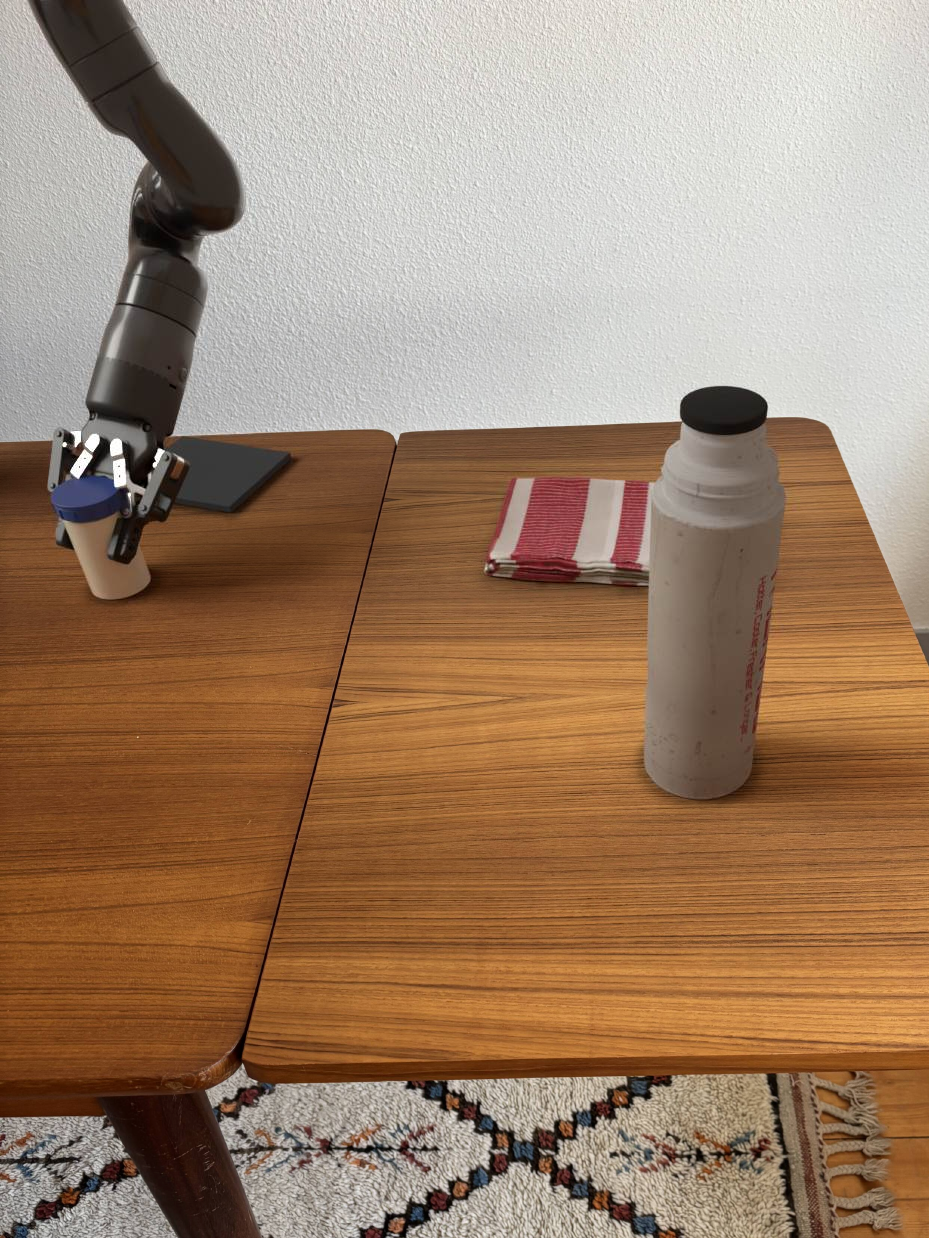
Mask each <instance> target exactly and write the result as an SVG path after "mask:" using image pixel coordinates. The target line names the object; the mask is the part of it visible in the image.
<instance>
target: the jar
mask: <svg viewBox="0 0 929 1238" xmlns="http://www.w3.org/2000/svg"><path fill="white" fill-rule="evenodd" d="M117 518H121V519H122V518H123V517H122V516H121V514H120V509H119V510H118V511H116V512H115V513H113V514H111V515H109V516H107V517H105V518H102V519H98V520H94V521H89V522H69V521H65V520H63V523H64V525H65V528H66V530H67V533H68V535H69V538H70V540H71V543H72V545H73V547H74V550H75V551H74V550H73V551H74V552H75V554H76V557H77V559H78V562H79V564H80V567H81V570H82V572H83V574H84V577H85V579H86V582H87V584H88V587H89V590H90V591H91V593H92V595H94V596H95V597H97V598H98V599H102V600H110V601H111V600H121V599H126V598H129V597H131V596H134V595H136V594H138V593H140V592H141V591H143V590H144V589H146V588H147V586H148V585H149V584H150V583H151V580H152V579H151V578H152V576H151V572H150V570H149V567H148V564H147V562H146V559H145V556H144V553H143V550H142V547H141V545H140V543H139V545H138V548H137V553H136V555H135V557H134V558H133V559H132V560H131V562H130V564H128V565H126V564H122V563H119V562H116V561H113V560H110V559H109V558H108V556H107V553H108V549H109V546H110V542H111V538H112V535H113V531H114V527H115V524H116V520H117Z"/></svg>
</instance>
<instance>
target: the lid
mask: <svg viewBox="0 0 929 1238" xmlns="http://www.w3.org/2000/svg"><path fill="white" fill-rule="evenodd" d="M50 493H51V494H50V500H51V506H52V508H53V510H54V513H55V514H56V515H57V516H58V518H59V517H60V518H61V519H62V520H65V521H69V522H89V521H94V520H98V519H102V518H105V517H107V516H109V515H111V514H113V513H115V512H116V511H118V510H119V509H120V508H121V501H122V498H121V496H122V495H121V492H120V489H119V488H115V481H114V480H111V479H109V478H108V477H106V476H94V475H91V473H90V474H88V475H86V476H84V477H81V478H79V479H77V478H72V479H70V480H68V481H65V480H64V482H63V483H62V484H60V485H59V486H57V487H56V488H55V489H54V490H53V492H50Z"/></svg>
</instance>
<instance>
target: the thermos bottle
mask: <svg viewBox="0 0 929 1238" xmlns="http://www.w3.org/2000/svg"><path fill="white" fill-rule="evenodd" d="M768 410H769V405H768V401H767V400H766V398H765V397H763V395H761V394H759V393H757V392H755V391H753V390H751V389H748V388H744V387H739V386H732V385H711V386H705V387H701V388H698V389H694V390H692V391H690V392H688V393H687V394H685V395H684V396H683V398H682V399H681V400H680V403H679V418H680V420H681V422H682V423H681V426H680V435H679V439H678V440H676V441H675V442H673V444H670V446H669V447H668V448H667V450H666V451H665V455H664V461H663V465H662V466H660V471H661V475H660V476H659V477H658V478H657V479H656V481H655V484H654V486H653V489H652V494H651V528H650V562H649V586H648V597H647V598H648V600H647V601H648V603H647V604H648V605H647V633H646V634H647V636H646V653H647V655H646V656H647V657H646V658H647V660H646V661H647V677H646V686H645V687H646V688H645V700H644V701H645V707H644V736H643V737H644V739H643V741H644V742H643V765H644V768H645V771H646V773H647V774H648V776H649V778H650V779H651V781H652V782H653V783H654V784H655V785H657V786H658V787H659V788H660V789H662V790H664V791H665V792H667V793H669V794H672V795H674V796H677V797H681V798H684V799H692V800H711V799H718V798H721V797H724V796H727V795H729V794H731V793H734V792H736V791H737V790H738V789H739V788H741V787H742V786H743V785H744V784H745V782H746V781H747V780H748V779H749V777H750V775H751V772H752V768H753V762H754V761H753V760H754V751H755V746H756V745H755V744H756V737H757V729H758V721H759V714H760V713H759V712H760V706H761V698H762V697H761V696H762V691H763V682H764V674H765V667H766V657H767V652H768V651H767V650H768V642H769V635H770V627H771V620H772V613H773V612H772V611H773V605H774V603H773V602H774V594H775V589H776V588H775V587H776V580H777V573H778V572H777V571H778V564H779V557H780V556H779V555H780V548H781V539H782V532H783V524H784V517H785V508H786V501H787V494H786V489H785V487H784V485H782V483H781V481H779V479H780V473H781V472H780V469H779V458H778V454H777V452H776V451H775V449H774V448H773V447H772V446H770V445H769V443H767V442H766V437H767V426H766V423H765V422H766V421H767V418H768V417H767V416H768Z"/></svg>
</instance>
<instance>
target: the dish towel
mask: <svg viewBox="0 0 929 1238" xmlns="http://www.w3.org/2000/svg"><path fill="white" fill-rule="evenodd" d="M655 482H656V481H655ZM655 482H651V481H644V480H631V479H627V480H622V479H620V480H619V479H604V478H592V477H591V478H590V477H566V476H542V477H532V478H531V477H530V478H529V477H528V478H527V477H526V478H519V477H511V478H509V483H508V485H507V488H506V491H505V492H506V493H505V497H504V499H503V504H502V506H501V511H500V513H499V517H498V520H497V524H496V527H495V530H494V533H493V537H492V540H491V542H490V544H489V547H488V550H487V555H486V558H485V567H484V570H483V572H484V574H485V575H486V576H490V577H500V578H510V579H516V580H522V581H523V580H524V581H538V582H550V583H551V582H552V583H578V582H579V583H581V582H582V583H594V584H605V585H621V586H628V587H629V586H630V587H631V586H634V587H635V586H636V587H638V586H639V587H641V586H643V587H644V586H645V587H649V562H650V528H651V494H652V489H653V486H654V484H655Z"/></svg>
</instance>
